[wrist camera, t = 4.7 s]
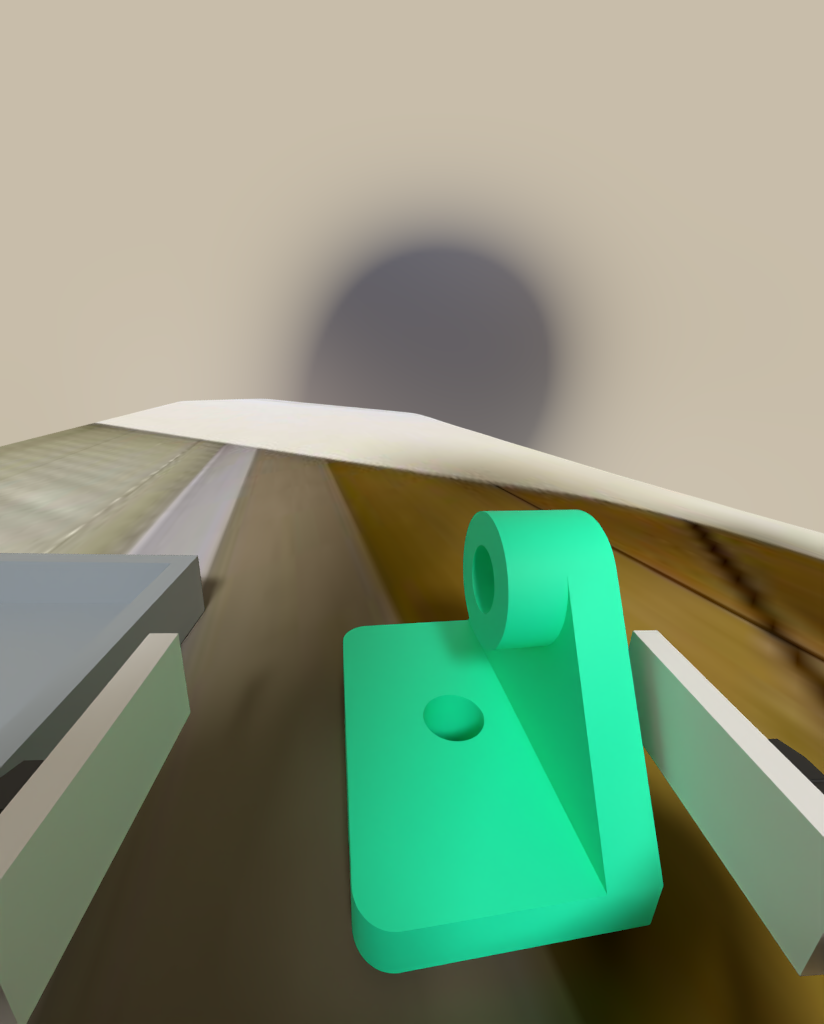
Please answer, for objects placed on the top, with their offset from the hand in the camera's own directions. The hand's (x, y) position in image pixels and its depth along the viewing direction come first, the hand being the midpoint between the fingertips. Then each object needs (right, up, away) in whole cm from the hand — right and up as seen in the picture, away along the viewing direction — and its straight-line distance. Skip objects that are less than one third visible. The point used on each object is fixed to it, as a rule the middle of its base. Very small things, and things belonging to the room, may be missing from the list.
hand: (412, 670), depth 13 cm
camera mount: (+1, -5, +4) cm, 7 cm away
